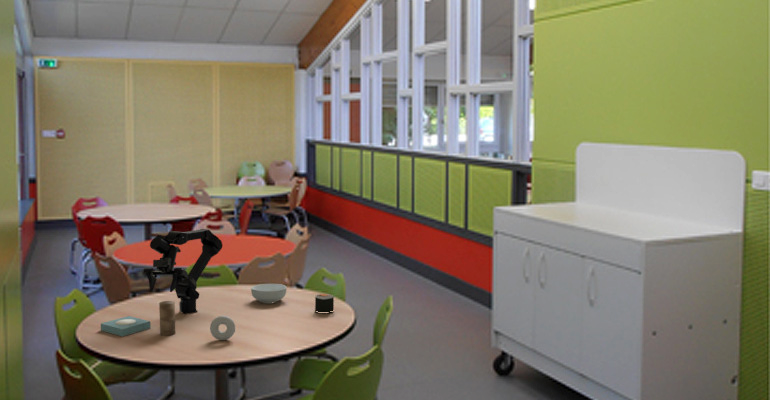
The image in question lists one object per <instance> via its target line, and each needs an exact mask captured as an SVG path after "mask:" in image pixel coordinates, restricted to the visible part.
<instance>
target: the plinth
mask: <svg viewBox="0 0 770 400" xmlns="http://www.w3.org/2000/svg"><path fill="white" fill-rule="evenodd" d="M151 325H152V324H151V321H150V320H147V319H142V318H138V317H135V316H130V315H128V316H124V317H123V316H122V317H120V318H117V319H116V318H115V319H113V320H109V321H105V322H101V323H100V331H101V332H105V333H108V334H112V335H116V336H120V337H125V336H128V335H132V334H135V333H139V332H142V331H145V330H149V329H151V327H152V326H151Z"/></svg>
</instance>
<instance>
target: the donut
mask: <svg viewBox="0 0 770 400" xmlns="http://www.w3.org/2000/svg"><path fill="white" fill-rule="evenodd" d="M220 325H224V326H226V330H225V331H221V330H220V329H219V327H220ZM209 330H210V333H211V336H212V337H214V339H216V340H218V341H227V340H229V339H231V338H232V337H233V336H234V334H235V332H236V324H235V322H234V320H233V319H232V318H231V317H229V316H228V315H219V316H217V317H215V318H214V319H212V321H211V323H210V326H209Z"/></svg>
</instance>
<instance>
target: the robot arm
mask: <svg viewBox="0 0 770 400" xmlns="http://www.w3.org/2000/svg"><path fill="white" fill-rule="evenodd" d="M197 240H200V243H201V244H202V246H201V250H202V251H201V253H200V255H199V257H198V258H197V259H196V261H195V263H194V265H193V266H192V268H191V269H190V270H189V272H187V270H186V269H185V268H183V267H175V265H177V262H176V258H177V255H178V253H181V252H182V251H181V249H180V247H179V246H182V245H184V244H186V243H188V242H191V241H197ZM176 245H177V246H176ZM149 247H150V249H152V250H153V251H155V252H157V253H158V254H161V256H162V257H159V259H153V260H152V267H144V268H143V270H142V273H141V274H142V275H144V277H146V278H147V280H148V284H149V285H148V286H149V291H150V292H151V293H152V292H153V291H154V289H155V286H156V284H157V283H156V282H157V277H158V276H172V280H171V284H170V289H169V292H170V293H173V291H174V290H175V295H176V297H177V299H180V301H179V302H178V303H179V312H180V313H182V314H183V315H186V314H192V313H198V312H199V311H198V310H197V300H198V299H199V298H200V292H198V291H197V287H198V286H197V282H198V280H199V278H200V277H201V275H202V273H203V272H204V271H205V269H206V267H207V266H208V264H209V262H210V261H211V260H212V258H213V257H215V256H216V255H217V254H219V252H221V250H222V248H223V241H222V240H221V239H220V238H219V237H218V236H217V235H216V234H214V233H213V232H212V231H211V230H210V229H205V228H200V229H196V230H189V231H175V230H173V231H172V230H171V231H169V232H168V233H167V234H166V235H165V236H163V235H162V234H157V235H156V237H153V239H152V240H150V242H149ZM174 267H175V268H174ZM154 268H156V269H154Z"/></svg>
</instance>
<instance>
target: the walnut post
mask: <svg viewBox="0 0 770 400" xmlns="http://www.w3.org/2000/svg"><path fill="white" fill-rule="evenodd" d="M175 303H176V302H175V301H173V300H164V301H160V302H159V303H158V304H159V305H158V306H159V308H158V309H159V335H160V336H163V337H168V336H169V337H170V336H173V335H176V306H175V305H176V304H175Z"/></svg>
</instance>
